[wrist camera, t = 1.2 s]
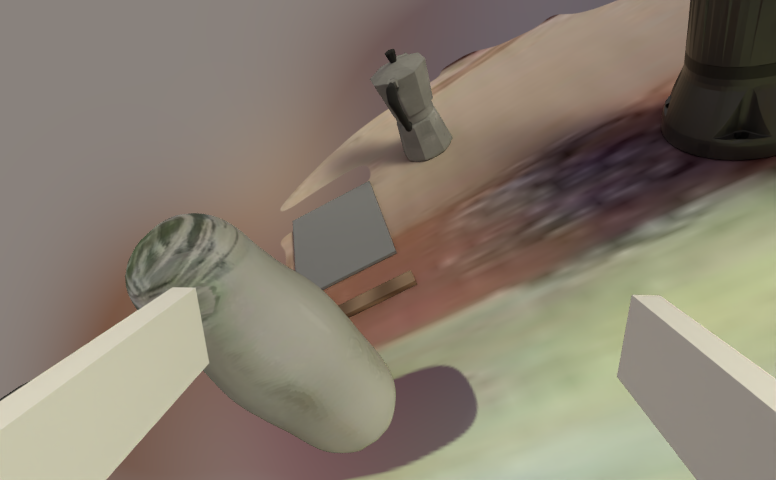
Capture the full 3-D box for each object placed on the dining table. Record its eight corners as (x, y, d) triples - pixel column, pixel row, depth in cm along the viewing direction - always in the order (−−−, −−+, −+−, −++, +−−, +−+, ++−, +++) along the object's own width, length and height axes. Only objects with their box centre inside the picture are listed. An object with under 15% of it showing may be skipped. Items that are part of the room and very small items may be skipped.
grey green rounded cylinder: (309, 414, 43) (77, 257, 25) (377, 349, 45) (209, 161, 27) (352, 492, 35) (66, 350, 17) (431, 410, 37) (249, 207, 19)
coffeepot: (408, 133, 76) (368, 44, 65) (454, 119, 72) (421, 22, 61) (399, 183, 66) (350, 87, 54) (452, 169, 62) (412, 64, 51)
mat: (370, 183, 70) (369, 180, 69) (396, 252, 54) (395, 250, 54) (294, 222, 71) (292, 221, 71) (299, 301, 56) (297, 299, 56)
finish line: (412, 273, 50) (410, 269, 50) (417, 284, 49) (414, 280, 48) (282, 337, 52) (278, 335, 52) (282, 350, 51) (278, 347, 50)
